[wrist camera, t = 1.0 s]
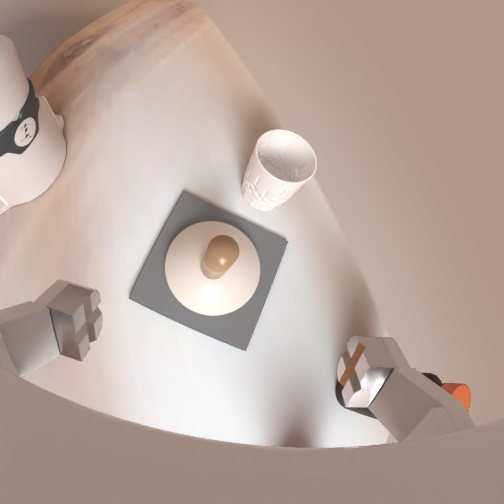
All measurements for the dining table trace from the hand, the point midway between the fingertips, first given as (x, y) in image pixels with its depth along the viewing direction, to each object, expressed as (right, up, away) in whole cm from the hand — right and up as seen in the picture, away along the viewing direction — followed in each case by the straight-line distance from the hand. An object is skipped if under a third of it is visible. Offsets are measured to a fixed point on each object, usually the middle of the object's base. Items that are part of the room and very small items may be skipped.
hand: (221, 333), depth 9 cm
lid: (-4, 0, +29) cm, 29 cm away
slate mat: (-4, 0, +29) cm, 30 cm away
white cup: (+2, +11, +35) cm, 37 cm away
